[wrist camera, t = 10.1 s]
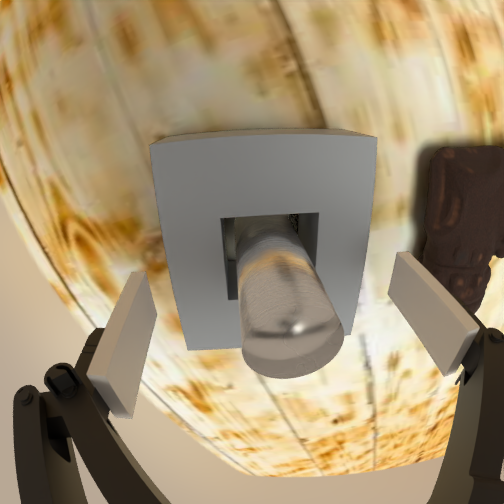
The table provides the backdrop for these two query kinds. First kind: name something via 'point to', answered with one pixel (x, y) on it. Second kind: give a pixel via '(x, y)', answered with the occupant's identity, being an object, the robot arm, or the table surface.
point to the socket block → (256, 204)
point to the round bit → (282, 301)
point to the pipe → (464, 219)
